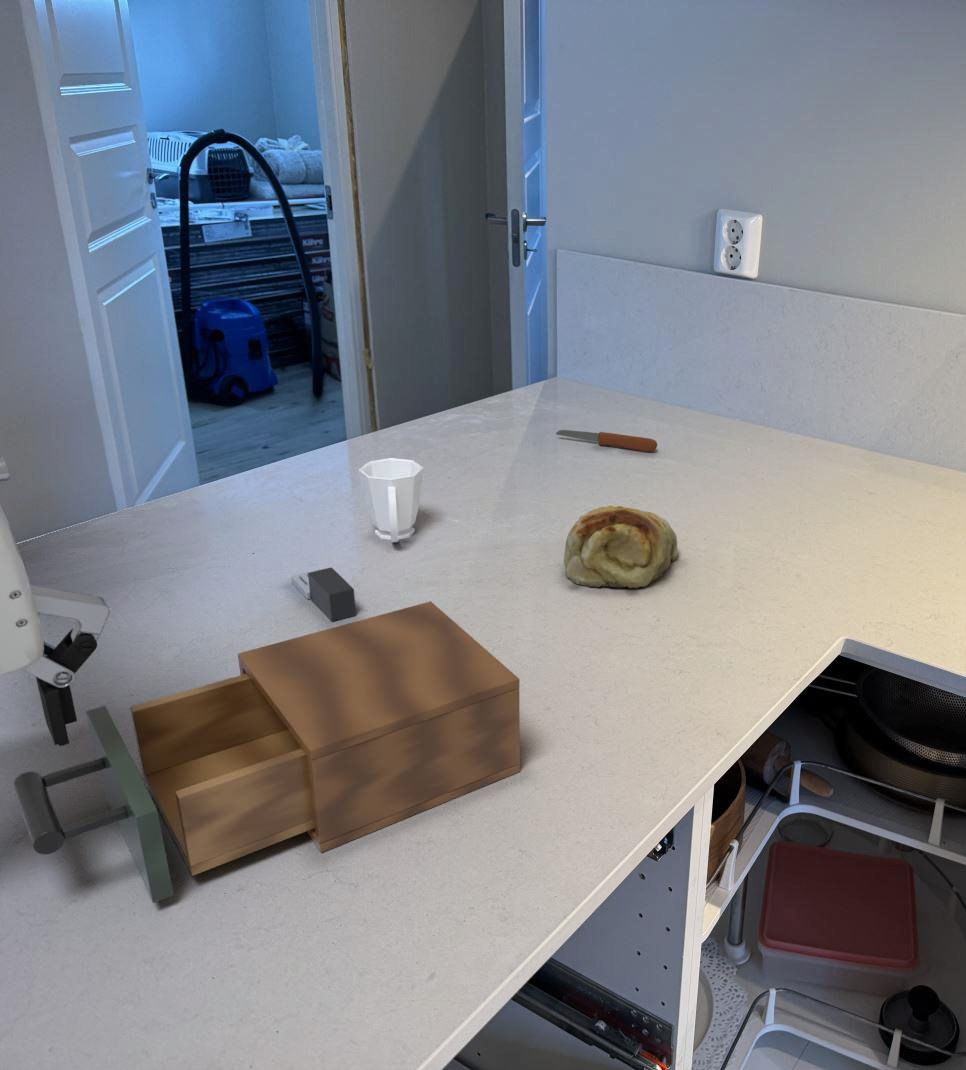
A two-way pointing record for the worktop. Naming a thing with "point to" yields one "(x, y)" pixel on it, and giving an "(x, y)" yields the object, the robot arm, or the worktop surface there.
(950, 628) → the worktop surface
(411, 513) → the cup
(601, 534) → the pastry
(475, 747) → the cabinet
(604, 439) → the kitchen knife
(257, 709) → the drawer
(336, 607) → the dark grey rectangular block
